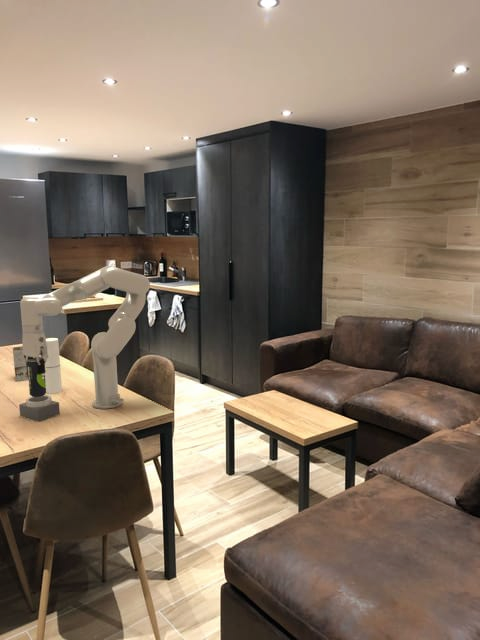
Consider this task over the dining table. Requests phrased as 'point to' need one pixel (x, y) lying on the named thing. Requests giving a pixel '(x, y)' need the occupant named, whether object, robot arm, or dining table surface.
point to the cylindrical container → (53, 367)
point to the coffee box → (20, 364)
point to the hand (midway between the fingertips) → (36, 372)
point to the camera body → (39, 408)
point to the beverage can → (35, 379)
